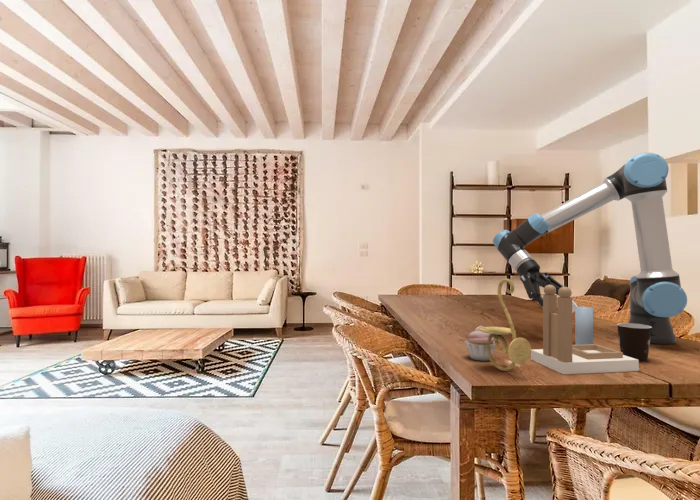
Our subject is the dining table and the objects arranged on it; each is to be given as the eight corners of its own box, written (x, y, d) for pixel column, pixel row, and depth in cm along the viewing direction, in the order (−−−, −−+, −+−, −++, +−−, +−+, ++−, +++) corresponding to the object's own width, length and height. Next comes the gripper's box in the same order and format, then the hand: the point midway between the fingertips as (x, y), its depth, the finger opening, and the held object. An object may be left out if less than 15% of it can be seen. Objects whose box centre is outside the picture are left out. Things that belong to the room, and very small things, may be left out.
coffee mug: (641, 364, 119) (641, 329, 119) (610, 357, 127) (610, 324, 127) (663, 359, 125) (663, 325, 125) (632, 353, 132) (632, 321, 132)
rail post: (585, 348, 138) (585, 306, 138) (596, 352, 133) (596, 308, 133) (571, 349, 138) (571, 306, 138) (582, 353, 133) (582, 308, 133)
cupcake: (475, 363, 121) (475, 328, 121) (458, 355, 130) (458, 323, 130) (504, 361, 123) (504, 327, 123) (485, 353, 132) (485, 321, 132)
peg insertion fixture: (598, 356, 128) (598, 281, 128) (638, 371, 113) (638, 286, 113) (530, 359, 125) (530, 282, 125) (563, 374, 110) (563, 287, 110)
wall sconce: (535, 376, 108) (535, 279, 108) (504, 380, 105) (504, 280, 105) (500, 362, 122) (500, 276, 122) (472, 365, 119) (472, 276, 119)
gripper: (538, 271, 162) (577, 315, 149) (496, 273, 148) (534, 322, 136) (551, 257, 157) (592, 302, 145) (509, 258, 144) (550, 307, 131)
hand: (564, 312), depth 140 cm, fingers open, 13 cm apart
